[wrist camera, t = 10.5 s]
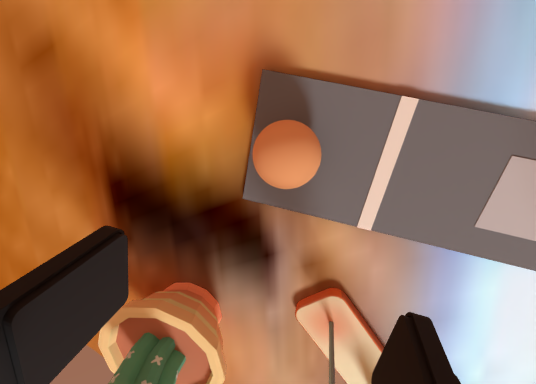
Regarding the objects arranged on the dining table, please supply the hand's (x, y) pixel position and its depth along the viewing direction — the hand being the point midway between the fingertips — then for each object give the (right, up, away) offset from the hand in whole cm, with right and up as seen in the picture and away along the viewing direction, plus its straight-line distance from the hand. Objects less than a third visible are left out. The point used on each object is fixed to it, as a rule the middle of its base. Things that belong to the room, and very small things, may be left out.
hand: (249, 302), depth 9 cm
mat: (+14, +6, +17) cm, 23 cm away
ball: (+2, +7, +15) cm, 17 cm away
